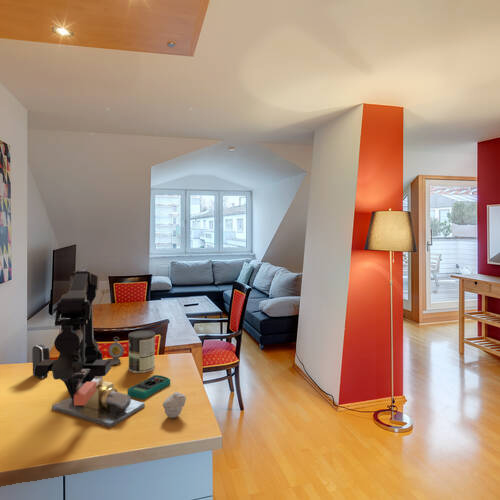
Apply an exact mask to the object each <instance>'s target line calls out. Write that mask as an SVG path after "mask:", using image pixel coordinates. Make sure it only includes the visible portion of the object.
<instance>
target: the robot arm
mask: <svg viewBox="0 0 500 500" xmlns="http://www.w3.org/2000/svg"><path fill="white" fill-rule="evenodd" d="M69 282H70V283H69V290H68V292H66V293H64V294H63V295H61V297H60V299H59V301H57V305H56V310H55V320H54V326H55V327H59V326H60V327H61V328H60V332H59V333H58V335H57V336H56V338H55V340H54V344H53V345H54V348H55V350H56V351H57V352H58V353H59V355H58V358H57V359H49V360H43V361H42V362H40V363H39V364H37V365H36V366H35V367H34V375H33V377H34V378H35V377H36V378H38V377H43V376H46V375H47V374H48V375H49V372H52V378H53V380H60V381H62V382H63V383H64V385H65V387H66V388H67V389H66V390H67V392H68V395H69V397H71V399H74V395H75V393H76V392H77V391H78V389H79V386H80V384H81V383H84V384H85V383H86V382H91V381H92V380H93V379H94V378H95V376H103V377H105V376H106V375H107V374H108V373H109V372H110V370H111V369H112V365H111V362H110V361H109V360H106V359H104V358H103V353H102V351H101V349H100V347H99V343H98V342H97V340H96V339H95V338H94V337H95V336H94V310H93V309H94V308H93V306H94V305H93V302H94V300H95V298H96V297H97V294H98V290H99V289H100V279H99V277H98V275H95V274H93V273H92V272H91V271H90V270H76V271H73V273H72V275H70V281H69Z"/></svg>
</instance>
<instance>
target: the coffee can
mask: <svg viewBox="0 0 500 500" xmlns="http://www.w3.org/2000/svg"><path fill="white" fill-rule="evenodd" d="M155 341H156V332H155V331H153V330H148V329H147V330H146V329H145V330H143V329H142V330H134V331H132V332H129V333H128V371H129V372H131V373H134V374H144V373H148V372H151V371H153V370H155V368H156V365H155V363H156V362H155V359H156V357H155V355H156V354H155V353H156V352H155V351H156V349H155V347H156V345H155V344H156V343H155Z"/></svg>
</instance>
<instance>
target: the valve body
mask: <svg viewBox="0 0 500 500" xmlns="http://www.w3.org/2000/svg"><path fill="white" fill-rule="evenodd" d="M83 385H84V383H81V384H80V386H79V389H80V388H81V387H82V386H83ZM96 387H97V391H96V392H95V393H94V395H93V396H92V397H91V398H90V399H89V401H88V402H87V403H86V404H85V405H74V399H71V396H69V397H68V398H65V399H63V400H60V401H59V402H56V403H54V404H52V405H51V410H52V411H56V412H59V413H63V414H66V415H70V416H73V417H75V418H78V419H82V420H84V421H89V422H92V423H95V424H97V425H98V424H99V425H100V426H101V425H102V426H103V427H108V428H113V427H114V426H116V425H117V424H119V423H120V422H123V421H124V420H126V419H127V418H129V417H130V416H132V415H134V414H135V413H137V412H138V411H140V410H142V409H143V408H145V407H146V405H145V402H143V401H138V400H136V399H132V397H131V396H129V395H127V394H126V393H122V392H119V391H118V390H117V388H115V387H114V382H110V381H106V380H103V379H102V380H101V382H100V383H99V384H98V385H97V386H96ZM79 389H78V390H79Z"/></svg>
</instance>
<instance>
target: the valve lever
mask: <svg viewBox="0 0 500 500" xmlns="http://www.w3.org/2000/svg"><path fill="white" fill-rule="evenodd" d="M103 377H104V376H95V378H94V379H93V380H92V381H91V382H86V383H85V384H84V385H83V386H82V387H81V388H80V389H79V390H78V391H77V392H76V393H75V395H74V405H85V404H86V403H87V402H88V401H89V399H90V398H91V397H92V396H93V395H94V393H95V392H96V391H97V387H96V386H97V385H98V384H99V383H100V382H101V380H103Z"/></svg>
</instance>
